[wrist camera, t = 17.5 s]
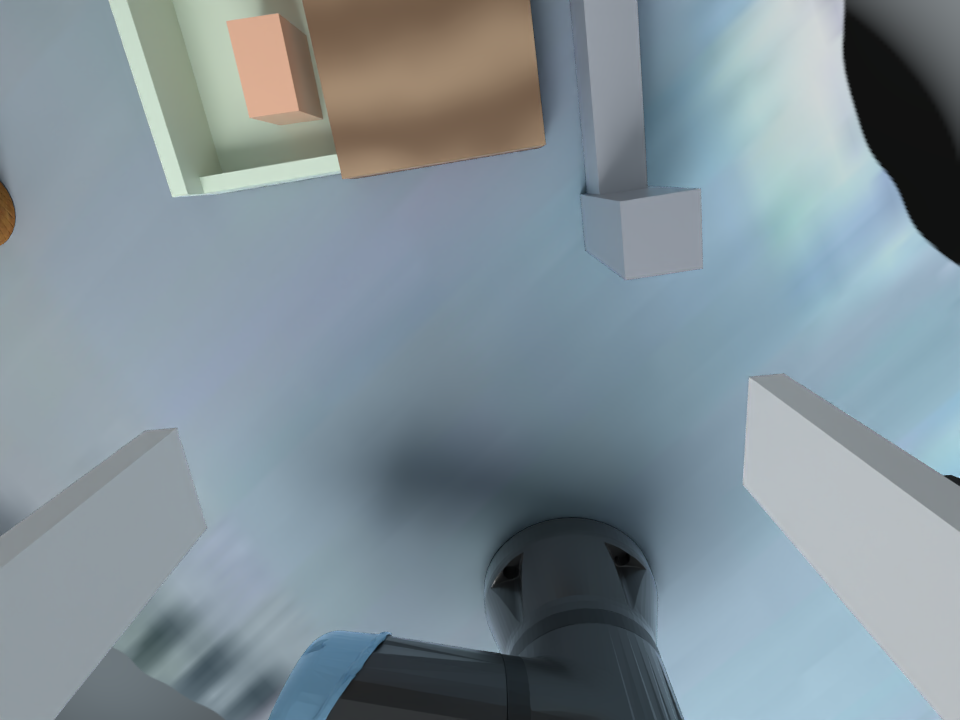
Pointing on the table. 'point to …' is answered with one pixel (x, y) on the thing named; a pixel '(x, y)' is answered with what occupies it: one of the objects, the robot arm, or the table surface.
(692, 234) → the scraper
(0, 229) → the disposable coffee cup
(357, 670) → the robot arm
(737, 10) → the table surface
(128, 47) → the tray
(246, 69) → the tile
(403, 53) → the brown wooden board
